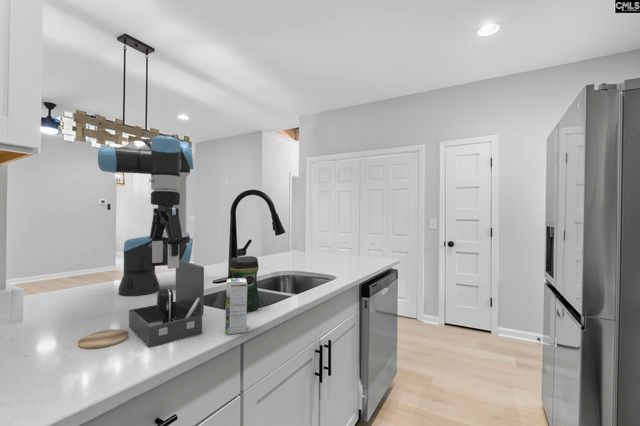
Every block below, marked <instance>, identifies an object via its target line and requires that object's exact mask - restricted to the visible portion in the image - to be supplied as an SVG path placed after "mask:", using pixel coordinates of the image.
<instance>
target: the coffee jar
mask: <svg viewBox="0 0 640 426" xmlns="http://www.w3.org/2000/svg"><path fill="white" fill-rule="evenodd" d="M258 260H259V259H258V257H256V256H251V255H249V256H248V255H247V256H246V255H245V256H237V257H231V259H230V267H229V270H230V272H231V273H230V274H231V279H233V278H243V279H246V280H247V311H248V312H252V311H254V310H257V309H258V308H259V307H260V303H259V292H258V280H257V279H258V273H259V272H258V271H259V261H258Z"/></svg>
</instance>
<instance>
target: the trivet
mask: <svg viewBox="0 0 640 426" xmlns="http://www.w3.org/2000/svg"><path fill="white" fill-rule="evenodd" d="M129 334H130V333H129V331H128V330H125V329H106V330H101V331H97V332H93V333H90V334H87V335H85V336H82V337H81V338H80V339H79V340H78V341H77V346H78V347H79V349H83V350H98V349H103V348H109V347H113V346H115V345H116V346H117V345H118V344H122V343H123V342H125V341H126V340H128V338H129V337H130V335H129Z"/></svg>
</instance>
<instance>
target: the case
mask: <svg viewBox="0 0 640 426" xmlns="http://www.w3.org/2000/svg"><path fill="white" fill-rule="evenodd" d="M204 286H205V266H201V265H198V264H195V263H191V262H186V261H182V260H179V268H175V301H173V319H177V320H173V321H171V322H167V323H162V322H163V319H164V314H163V312H159V311H158V309H157V304H153V305H150V306H149V305H148V306H142V307H137V308H131V309H129V310H128V328H130V329H131V330H132V332H133V333H134V334H135V335H136V336H137V337H138V338H139V339H140V340H141V341H142V343H144V344H145V345H146V346H147V347H148V348H153V347H156V346H159V345H163V344H167V343H170V342H171V343H172V342H174V341H178V340H183V339H186V338H189V337H190V338H191V337H194V336H197V335H201V334H203V316H204V310H205V309H204V307H205V305H204V304H205V303H204V300H205V299H204V297H205V294H204V293H205V291H204V289H205V287H204ZM157 322H158V324H154V325H151V324H153V323H157ZM159 322H161V323H162V324H161V323H159Z"/></svg>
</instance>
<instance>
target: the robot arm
mask: <svg viewBox="0 0 640 426" xmlns="http://www.w3.org/2000/svg"><path fill="white" fill-rule="evenodd" d="M97 164H98V168H99V169H100V171H102V172H105V173H107V172H108V173H113V174H114V173H115V174H116V173H117V174H118V173H121V174H123V173H124V174H125V173H126V174H140V175H141V174H144V175H150V176H151V178H149V180H148V181H149V182H150V189H151V190H152V191H151V192H150V204H151V205H152V206H153V205H154V206H157V207H154V208H153V210H152V211H153V212H152V213H153V214H152V222H151V228H150V233H149V236H146V235H145V236H141V237H134V238H129V239H127V240H125V241H124V244H123V250H122V252H123V275H122V278H121V281H120V284H119V286H118V295H119V296H124V297H127V296H128V297H129V296H131V297H133V296H143V295H149V294H153V293H156V292H157V293H158V292H159V291H160V282H159V280H158V277H157V275H156V267H163V266H164V267H165V266H166V267H167V269H171V270H172V269H176V268H179V260H182V261H186V262H189V263H191V258H192V257H191V256H192V251H193V243H194V240H193V238H191V237H190V233H188V231H187V177H188V176H189V175H190V174H191V170H193V169H194V161H193V152H192V146H191V144H190V143H189V142H187V141H180V140H179V139H178V138H176V137H173V136H167V135H165V136H164V135H157V136H153V137H152V138H145V139H144V138H143V139H137V140H134V141H133V140H132V141H130V142H128V143H127V144H126V145H124V146H121V147H118V146H101V147H99V148H98V152H97Z"/></svg>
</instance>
